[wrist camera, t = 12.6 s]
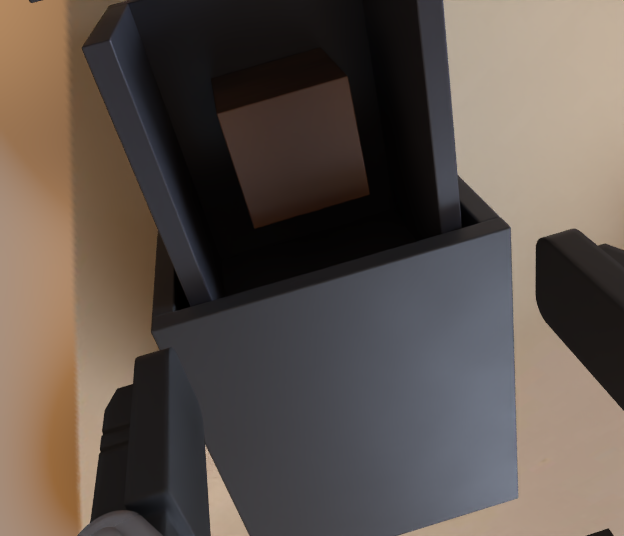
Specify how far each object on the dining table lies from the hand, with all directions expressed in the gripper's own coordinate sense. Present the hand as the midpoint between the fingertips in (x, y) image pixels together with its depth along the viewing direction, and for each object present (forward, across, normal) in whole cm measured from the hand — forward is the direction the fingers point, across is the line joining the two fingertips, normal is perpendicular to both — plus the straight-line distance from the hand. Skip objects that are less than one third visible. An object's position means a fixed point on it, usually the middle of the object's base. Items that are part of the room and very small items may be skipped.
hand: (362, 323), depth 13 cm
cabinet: (+16, 0, +11) cm, 19 cm away
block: (+14, 0, 0) cm, 14 cm away
